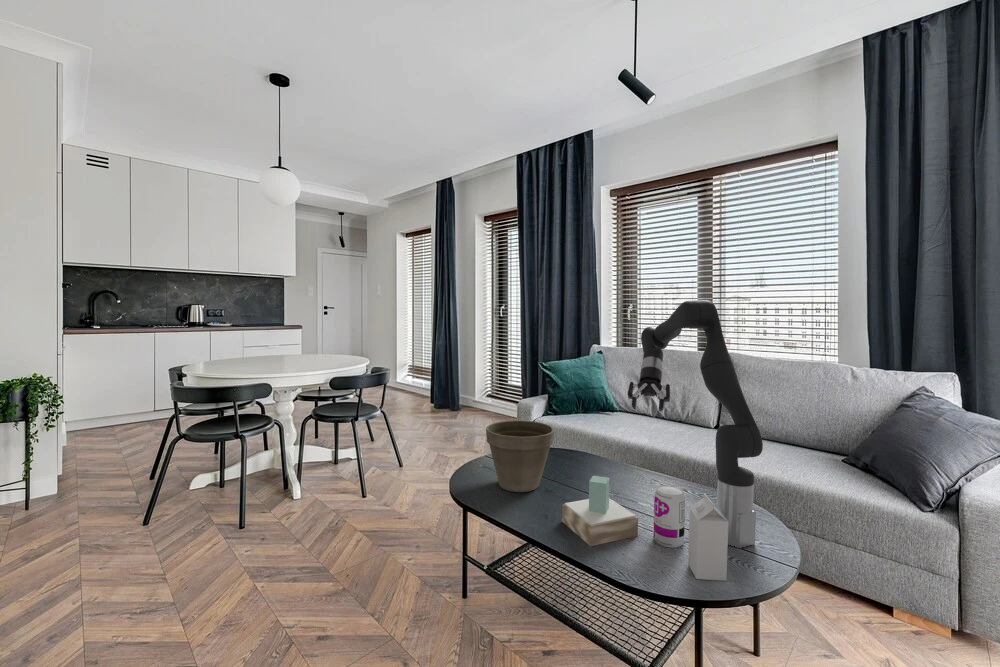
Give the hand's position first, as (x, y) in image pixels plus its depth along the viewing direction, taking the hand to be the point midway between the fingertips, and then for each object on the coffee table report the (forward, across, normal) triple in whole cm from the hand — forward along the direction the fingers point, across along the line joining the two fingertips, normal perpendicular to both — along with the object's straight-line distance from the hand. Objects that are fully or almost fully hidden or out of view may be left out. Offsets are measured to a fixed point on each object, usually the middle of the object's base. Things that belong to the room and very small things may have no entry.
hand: (647, 409), depth 167 cm
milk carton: (+53, +20, -9) cm, 57 cm away
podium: (+44, -10, 0) cm, 45 cm away
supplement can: (+44, +10, 0) cm, 45 cm away
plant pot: (+28, -44, +16) cm, 54 cm away
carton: (+40, -10, -5) cm, 41 cm away
